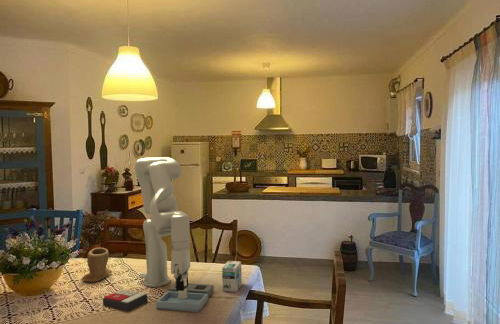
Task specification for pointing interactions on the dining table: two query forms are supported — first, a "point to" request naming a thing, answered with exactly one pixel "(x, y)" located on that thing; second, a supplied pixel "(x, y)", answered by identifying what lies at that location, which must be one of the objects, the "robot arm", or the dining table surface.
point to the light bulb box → (232, 276)
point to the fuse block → (195, 288)
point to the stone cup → (97, 264)
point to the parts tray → (182, 302)
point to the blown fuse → (183, 294)
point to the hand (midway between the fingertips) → (182, 288)
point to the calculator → (125, 300)
